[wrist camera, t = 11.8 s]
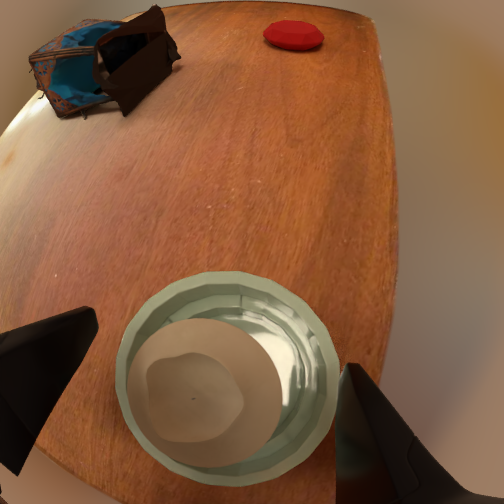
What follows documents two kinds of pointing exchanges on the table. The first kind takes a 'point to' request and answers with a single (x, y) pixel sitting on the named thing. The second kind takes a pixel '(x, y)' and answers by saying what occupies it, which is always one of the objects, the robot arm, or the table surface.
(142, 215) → the table surface
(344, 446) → the robot arm
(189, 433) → the candle
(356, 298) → the table surface
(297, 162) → the table surface
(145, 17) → the lantern
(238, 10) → the table surface
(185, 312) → the bowl
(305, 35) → the gemstone
